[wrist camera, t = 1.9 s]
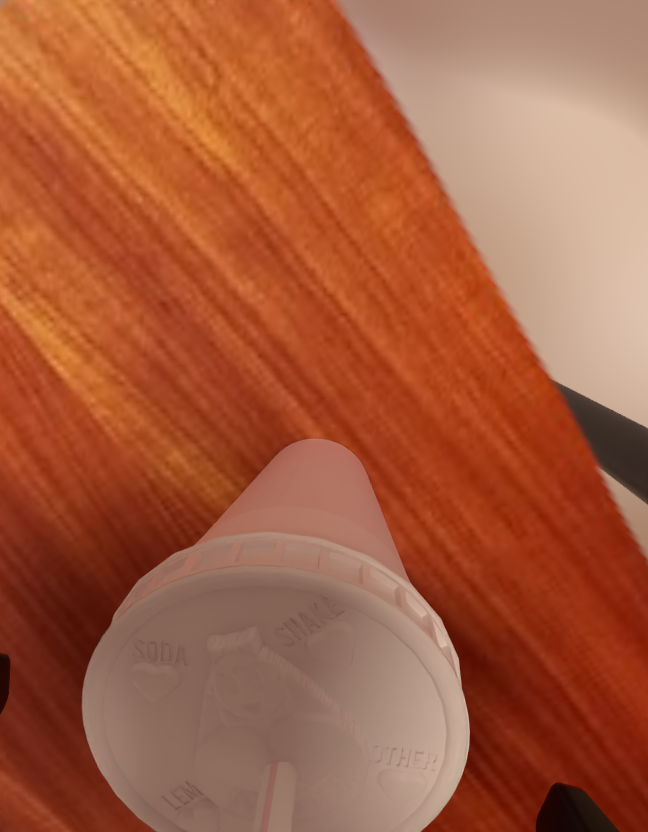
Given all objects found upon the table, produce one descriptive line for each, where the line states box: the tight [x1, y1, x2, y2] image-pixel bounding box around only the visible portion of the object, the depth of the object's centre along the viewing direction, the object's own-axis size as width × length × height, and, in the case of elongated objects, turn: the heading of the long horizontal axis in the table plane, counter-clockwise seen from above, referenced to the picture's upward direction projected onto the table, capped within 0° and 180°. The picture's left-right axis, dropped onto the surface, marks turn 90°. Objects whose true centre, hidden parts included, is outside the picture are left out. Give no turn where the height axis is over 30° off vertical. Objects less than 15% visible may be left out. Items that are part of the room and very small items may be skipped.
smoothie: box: [82, 439, 470, 832], centre depth 10 cm, size 6×6×14 cm
